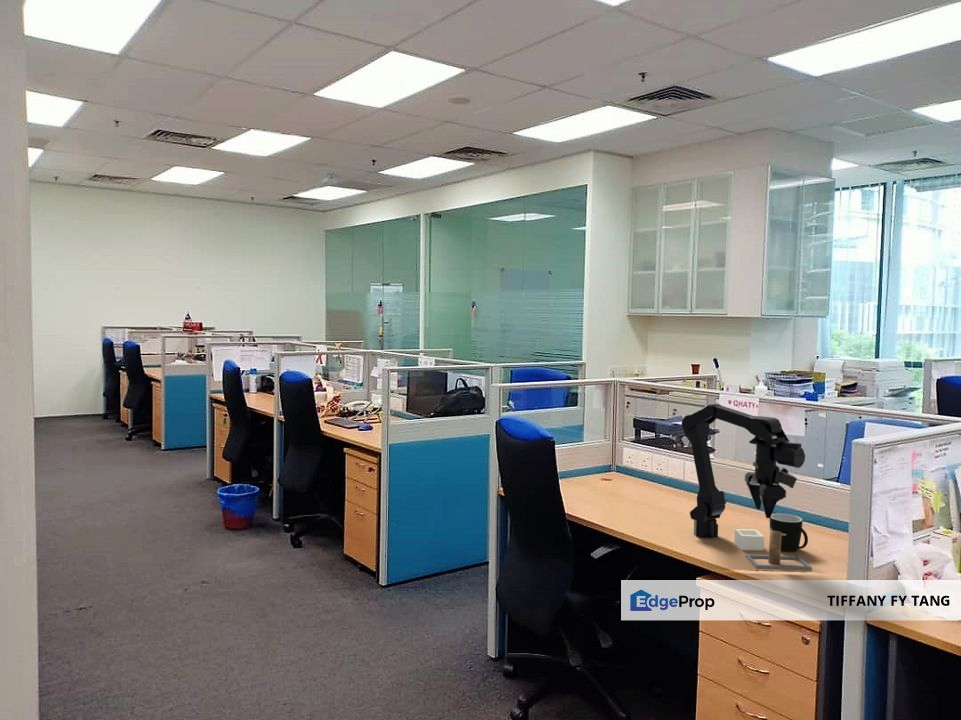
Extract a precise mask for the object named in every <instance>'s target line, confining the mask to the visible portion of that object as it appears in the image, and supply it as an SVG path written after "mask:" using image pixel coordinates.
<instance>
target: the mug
mask: <svg viewBox="0 0 961 720" xmlns="http://www.w3.org/2000/svg"><path fill="white" fill-rule="evenodd" d="M770 531H779V532H781V533H782V537H781V552H784V553H796V552H797V551H798V550H802V549H804V548H806V547H807V545H808V542H809V538H808V537H809V536H808V533H807V532H806V531H805V529H804V528H803V518H801V517H800V516H797V515H795V514H788V513H772V515H771V517H770V518H769V532H770ZM802 535H803V539H804V542H803V544H802V545H800V543H801V538H802Z"/></svg>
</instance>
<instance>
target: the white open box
mask: <svg viewBox="0 0 961 720" xmlns="http://www.w3.org/2000/svg"><path fill="white" fill-rule="evenodd" d="M733 543H734V544H735V545H736V547H737V548H739V550H741V551H765V549H764V548H765V535H763V534H762V533H761V532H760V531H759V530H758V529H742V528H741V529H737V528H735V529H734V542H733Z"/></svg>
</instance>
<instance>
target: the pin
mask: <svg viewBox="0 0 961 720" xmlns="http://www.w3.org/2000/svg"><path fill="white" fill-rule="evenodd" d="M781 537H782V533H781V532H779V531H770V530H769V544H768V545H769V546H768V547H769V548H768V555H769V559H768V561H767V562H768V564H769V565H781V559H780V555H781V552H782V551H781Z"/></svg>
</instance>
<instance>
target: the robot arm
mask: <svg viewBox="0 0 961 720" xmlns="http://www.w3.org/2000/svg"><path fill="white" fill-rule="evenodd" d="M717 420H719V421H723V422H725V423H729V424H731V425H734V426H738V427H740V428H744V429H745V430H747V431H748V432H749V433H750V434H751V435H752V436H754V437H753V438H752V439H751V440H749V444H752V445H755V461H753V462H752V466H753V467H754V472H750V471H749V472H747V473H746V474H745V475H744V482H745V484H746V487H747V489H748V491H749V494H750V496H751V499H752V501H753V504H754V507H755V509H756V510H760V509H761V506H762V509H763V513H764V516H765V518H766V519H770V517H771V515H772V514H773V512H774V510H775V507H776V505H777V503H778V502H779V501H780V500H784V499H785V498H787V490H786V489H785V488H784V487H783V486H782V485H780V484H783V485H785V486H786V487H789V488H791V489H793V488H795V484H796V482H797V480H798V478H797V477H795V476H794V475H792V474H791V473H789V469H787V468H785V467H783V466H788V467H791V468H792V467H793V468H797V469H800V468H801V467H802V466H803V465H804V463H805V461H806V460H805V459H806V454H805V451H804V448H803V447H802V443H801V442H792V441H791V442H790V439H789V438H788V436H787V435H786V432H785V431H784V429H783V426H782V423H781V421H780V420H779V419H778V418H776V417H772V416H771V417H770V416H762V415H761V416H760V415H757V416H756V415H752V414H748V413H747V412H746V413H745V412H742V411H739V410H738V409H737V410H736V409H733V408H730V407H728V406H724V405H721V404H719V403H712V404H707V406H705V407H703V408H701V409H700V410H697V411H696V412H694V413H692V414H686V415H685V416H684V417H683V418H682V419H681V427H682V430H683V433H684V436H685V437H686V439H687V440H688V441H689V443H690V444H691V445H690V446H691V449H692V455H693V461H694V466H695V473H696V477H697V482H698V488H699V489H698V491H697V496H696V506H694V508H693V509H691V510H690V512H689V516H690V519H691V520H693V535H694V536H695V537H697V538H701V539H713V538H718V537H719V524H718V523H717V522H718V521H717V519H720V517H721V515H722V514H723V513H724V511H725V510H726V505H727V501H726V498H725V491H723V490H721V491H720V490H719V489H718V488H717V486H716V482H715V476H714V471H713V466H712V462H711V456H710V451H709V445H708V437H709V435H710V425H711V424H713V423H715V421H717ZM777 464H778V465H783V466H781V467H779V466H778V465H777Z"/></svg>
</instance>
